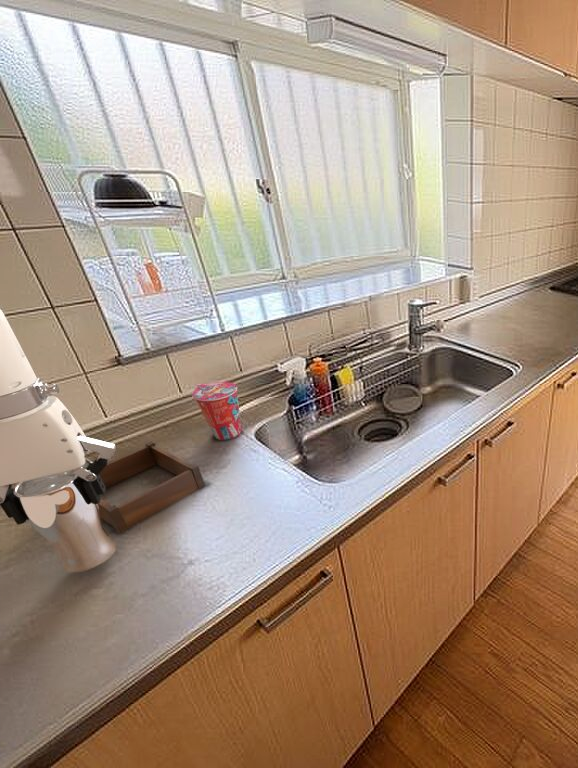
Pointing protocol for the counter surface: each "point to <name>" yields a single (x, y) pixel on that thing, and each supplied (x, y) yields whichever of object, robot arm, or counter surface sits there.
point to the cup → (220, 408)
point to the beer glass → (66, 519)
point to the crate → (155, 497)
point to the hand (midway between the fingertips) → (62, 506)
